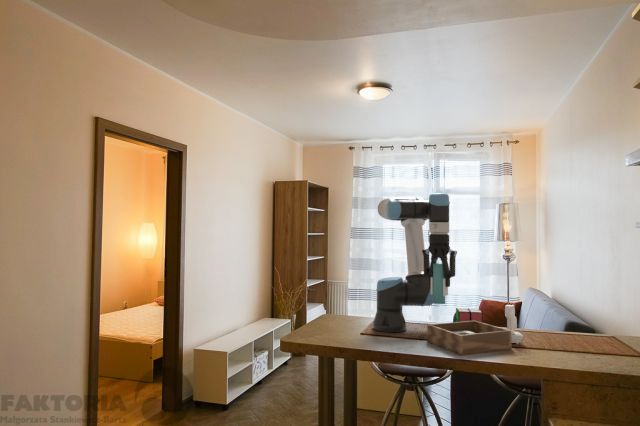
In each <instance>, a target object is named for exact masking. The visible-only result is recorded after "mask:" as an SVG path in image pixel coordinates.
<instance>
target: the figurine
mask: <svg viewBox="0 0 640 426" xmlns="http://www.w3.org/2000/svg"><path fill="white" fill-rule="evenodd" d="M515 314H516V308H515V304H506V305H505V306H504V315H505V318H506V321H507V322H506V325H507V327H506V329H507V330H511V343H517V344H516V345H519V344H520V342H521V340H522V339H523V337H524V335H523V334H522V333H520V332H519V331H515V330H516V329H517V328H518V323H517V322H518V320H517V318H518V317H517V316H515Z"/></svg>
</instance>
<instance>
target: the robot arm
mask: <svg viewBox="0 0 640 426" xmlns="http://www.w3.org/2000/svg"><path fill="white" fill-rule="evenodd" d="M377 212H378V215H379V216H380V217H381V218H383V219H385V220H389V221H395V222H396V221H399V222H400V225H401V226H402V227H403V228H404V237H405V248H406V259H407V260H406V261H407V272H408V273H407V275H405V277H404V278H405V279H404V278H403V277H402V276H389V277H384V278H381V279H378V280H377V282H376V313H375V315H374V318H373V322H372V329H373V330H375V331H379V332H384V333H385V332H386V333H401V332H404V331H407V323H406V319H405V317H404V313H403V307H405V306H406V307H407V306H408V307H411V306H412V307H429V306H432V305H433V304H434V303H433V264H434V263H438V262H437V261H438V259H440V261H441V263H442V266H443V270H444V275H445V277H444V278H443V296H445V297H446V296H447V297H448V296H449V288H450V287H451V278H454V277H456V257H457V254H458V252H457V250H453V249H451V246H450V235H449V233H450V195H449V194H448V193H441V192H440V193H431V194H429V197H428V200H425V199H424V198H423V197H416V196H415V197H397V196H395V197H388V198H384V199H383V200H381V201H380V202H379V203H378V205H377ZM427 220H428V228H429V229H428V232H429V235H428V244H429V246H428V248H426V249H425V239H424V233H423V232H424V231H423V226H424V225H425V223H426V221H427ZM430 255H431V257H430ZM448 255H449V263H448Z"/></svg>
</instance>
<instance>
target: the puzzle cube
mask: <svg viewBox="0 0 640 426" xmlns="http://www.w3.org/2000/svg"><path fill="white" fill-rule="evenodd" d="M463 321H478V322H481V323H483V312H482V311H481V310H480V309H479V308H472V307H469V308H467V307H456V308H455V322H463Z"/></svg>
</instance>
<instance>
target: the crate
mask: <svg viewBox="0 0 640 426" xmlns="http://www.w3.org/2000/svg"><path fill="white" fill-rule="evenodd" d="M426 328H427V330H426V332H427V333H426V334H427V335H426V336H427V337H426V338H427V340H426V341H427V343H429V344H431V345H434V346H437V347H439V348H441V349H443V350H446V351H448V350H449V352H451V353H453V352H454V354H456V355H458V354H459V356H467V355H474V354H475V355H477V354H483V353H492V352H493V353H494V352H499V351H500V352H501V351H509V350H512V349H513V348H512V344H511V330H507V328H503V327H499V326H496V325H492V324H489V323H485V322H482V323H481V322H478V321H463V322H456V321H454V322H442V323H432V324H429V323H428V324H427V325H426Z"/></svg>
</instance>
